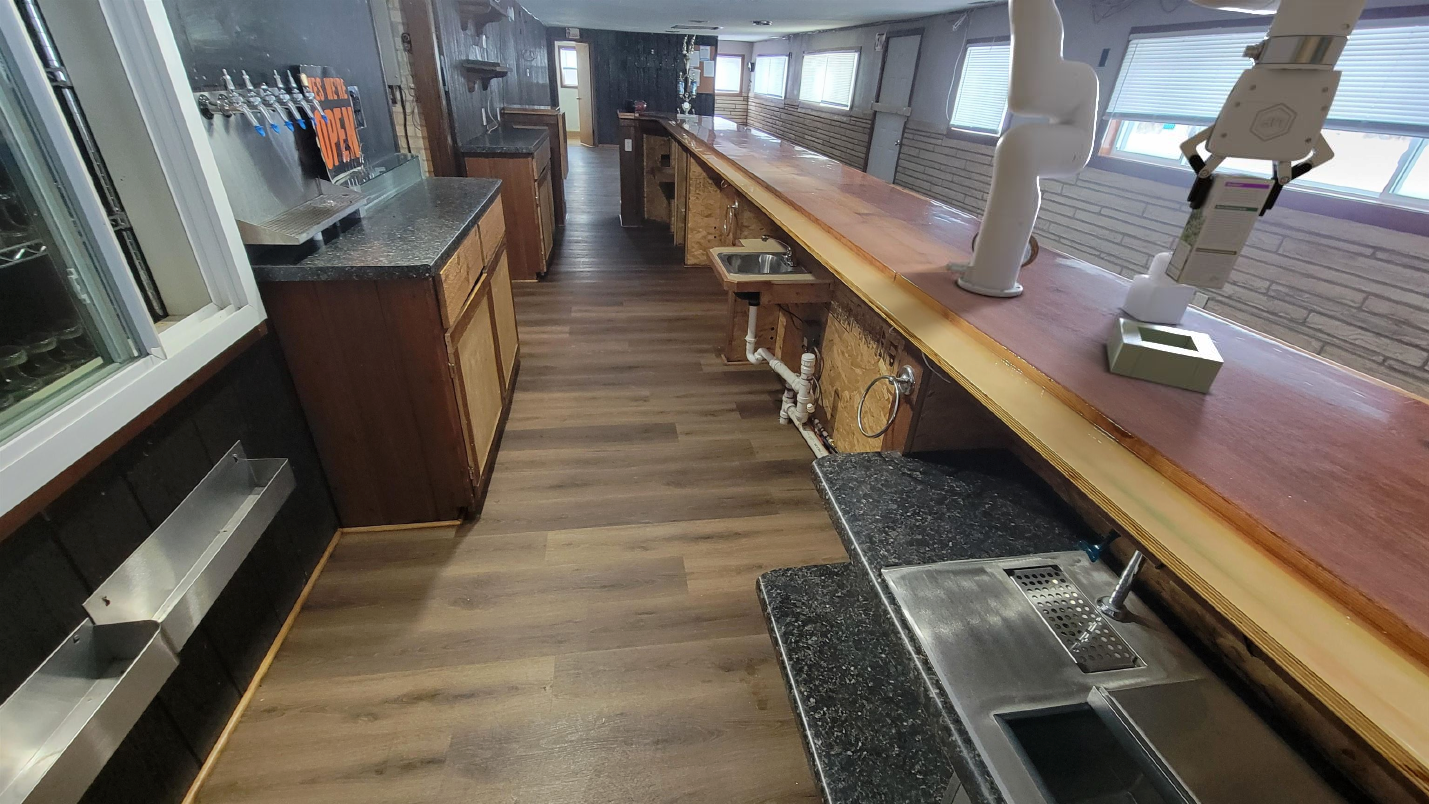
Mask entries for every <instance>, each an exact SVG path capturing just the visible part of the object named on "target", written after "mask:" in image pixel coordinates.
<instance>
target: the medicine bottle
mask: <svg viewBox="0 0 1429 804" xmlns="http://www.w3.org/2000/svg"><path fill="white" fill-rule="evenodd" d="M1173 253H1174V252H1170V251H1168V252H1167V251H1165V252H1160V253H1157V254H1155V255H1154V258H1153V260H1152V262H1151V264H1150V267H1149V269H1148V272H1147V274H1135V275H1134V277H1133V279H1132V282H1131V284H1130V286H1129V288H1128V291H1127V293H1126V296H1125V298H1124V300H1123V303H1122V305H1121V308H1120V309H1121V310H1122V311H1124V312H1125V313H1127V314H1128V315H1129V316H1131V317H1132V318H1134V319H1135V320H1137V321H1138V322H1142V323H1152V324H1153V323H1155V324H1169V325H1179V324H1180V323H1181V321H1182V319H1183V317H1184V315H1185V313H1186V310H1187V309H1188V306H1189V305H1190V302H1191V300H1192V298H1193V296H1194V294H1195V291H1196V287H1195V286H1188V285H1182V284H1178V283H1176V282H1175V281H1174V280H1173V279H1171V278H1170V277H1169V276H1167V275H1166V274H1165V272H1166V269H1167V267H1168V264H1169V262H1170V260H1171V258H1172V255H1173Z"/></svg>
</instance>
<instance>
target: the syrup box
mask: <svg viewBox="0 0 1429 804" xmlns="http://www.w3.org/2000/svg"><path fill="white" fill-rule="evenodd" d="M1210 179H1211V180H1212V182H1211V184H1210V186H1209V189H1208V191H1207V193H1206V195H1205V198H1204V200H1203V202H1202V204H1201V207H1200V208H1199V209H1197V210H1194V209H1191V211H1190V214H1189V215H1188V218H1187V221H1186V223H1185V225H1184V228H1183V230H1182V232H1181V235H1180V237H1179V240H1178V242H1177V244H1176V246H1175V248H1174V250H1173V252H1172V253H1173V255H1172V258H1171V260H1170V262H1169V264H1168V267H1167V269H1166V272H1165V274H1166V275H1167V276H1169V277H1170V278H1171V279H1173V280H1174V281H1175V282H1176V283H1178V284H1182V285H1188V286H1192V287H1194V288H1196V287H1197V288H1204V289H1214V290H1223V289H1224V287H1225V285H1226V283H1227V281H1228V279H1229V277H1230V275H1231V273H1232V271H1233V269H1234V268H1235V265H1236V263H1237V261H1238V259H1239V257H1240V255H1241V253H1242V251H1243V249H1244V247H1245V244H1246V243H1247V240H1248V238H1249V237H1250V234H1251V232H1252V230H1253V228H1254V226H1255V225H1256V222H1257V219H1258V218H1259V217H1260V216H1259V214H1260V211H1261V209H1262V207H1263V205H1264V203H1265V201H1266V199H1267V197H1268V195H1269V193H1270V191H1271V189H1272V187H1273V185H1274V183H1275V180H1272V179H1271V178H1267V177H1262V176H1259V175H1256V174H1250V173H1243V172H1234V171H1233V172H1232V171H1231V172H1229V171H1213V172H1212V175H1211V177H1210Z"/></svg>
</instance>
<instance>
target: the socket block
mask: <svg viewBox="0 0 1429 804" xmlns="http://www.w3.org/2000/svg"><path fill="white" fill-rule="evenodd" d="M1106 350H1107V356H1108V362H1109V363H1108V364H1109V370H1110V373H1112V374H1117V375H1121V376H1126V377H1130V378H1135V379H1137V380H1138V379H1139V380H1144V381H1148V382H1153V383H1157V384H1161V385H1166V386H1171V387H1176V388H1181V389H1185V390H1188V391H1189V390H1190V391H1194V392H1198V393H1204V394H1208V392H1209V390H1210V388H1211V387H1212V385H1213V384H1214V382H1215V380H1216V377H1217V376H1218V374H1219V372H1220V370H1221V368H1222V366H1224V363H1225V362H1224V360H1223V358H1222V357H1221V355H1220V353H1219V351H1218V350H1217V348H1216V347H1215V345H1214V343H1213V340H1212V339H1211V337H1210V335H1209V334H1207V333H1201V332H1197V331H1191V330H1186V329H1180V328H1175V327H1170V326H1163V325H1158V324H1153V323H1149V322H1141V321H1136V320H1131V319H1127V318H1120V317H1119V318H1117V321H1116V323H1115V325H1114V328H1113V330H1112V332H1111V334H1110V337H1109V339H1108V342H1107V344H1106Z"/></svg>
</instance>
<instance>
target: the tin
mask: <svg viewBox="0 0 1429 804" xmlns="http://www.w3.org/2000/svg"><path fill="white" fill-rule="evenodd" d="M978 234H979V231H978V232H976V233H975V235H974V236H973V237H972V241H971V251H972V254H973V253H974V249H975V245H976V242H977V238H978ZM1039 250H1040V247H1039V242H1038V240H1037V238H1036V237H1035V236H1034V235H1033V234H1031V235H1030V239H1029V242H1028V245H1027V248H1026V251H1025V254H1024V258H1023V261H1022V264H1021V267H1020V269H1022V268H1026V267H1027V266H1030V265H1031V264H1032V263H1033V262H1034V261H1035V260H1036V259H1037V257H1038V255H1039Z"/></svg>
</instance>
